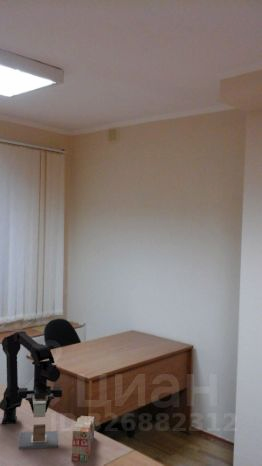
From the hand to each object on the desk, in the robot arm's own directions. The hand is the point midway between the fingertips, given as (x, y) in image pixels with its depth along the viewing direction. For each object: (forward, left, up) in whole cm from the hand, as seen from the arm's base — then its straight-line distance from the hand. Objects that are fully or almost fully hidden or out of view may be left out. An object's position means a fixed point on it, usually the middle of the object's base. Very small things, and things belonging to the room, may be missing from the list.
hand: (39, 412), depth 187 cm
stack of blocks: (+10, +19, -12) cm, 24 cm away
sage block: (0, 0, -1) cm, 1 cm away
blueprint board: (+2, 0, -12) cm, 12 cm away
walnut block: (+2, 0, -11) cm, 11 cm away
